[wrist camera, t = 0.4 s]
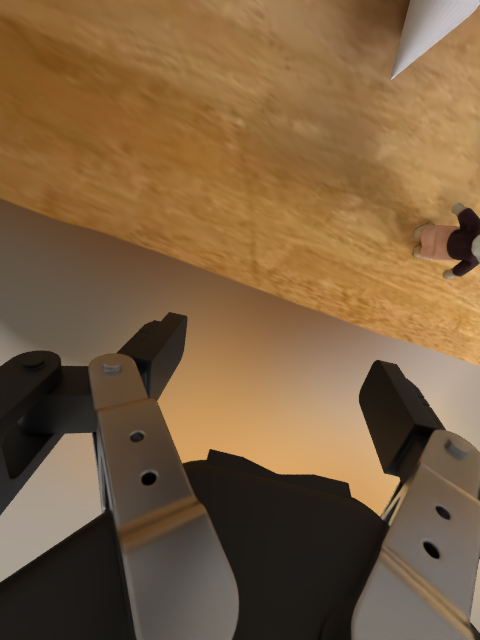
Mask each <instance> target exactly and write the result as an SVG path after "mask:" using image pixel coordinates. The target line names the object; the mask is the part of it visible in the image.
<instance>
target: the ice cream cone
mask: <svg viewBox="0 0 480 640" xmlns="http://www.w3.org/2000/svg"><path fill="white" fill-rule="evenodd" d="M479 4H480V0H410V3H409V7H408V11H407V15H406V19H405V23H404V27H403V31H402V35H401V39H400V42H399V46H398V50H397V54H396V58H395V62H394V66H393V70H392V74H391V78H390V80H392V79H393V78H394V77H395V76H396V75H398V74H399V73H400V72H401V71H403V70H404V69H405V68H406V67H408V66H409V65H410V64H411V63H412V62H414V61H415V60H416V59H417V58H419V57H420V56H421V55H422V54H423V53H425V52H426V51H427V50H428V49H430V48H431V47H432V46H433V45H435V44H436V43H437V42H438V41H439V40H441V39H442V38H443V37H444V36H446V35H447V34H448V33H449V32H450V31H452V30H453V29H454V28H455V27H457V26H458V25H459V24H460V23H462V22H463V21H464V20H465V19H466V18H468V17H469V16H470V15H471V14H472V13H473V12H474V11H475V10H476V8H477V7H478V6H479Z"/></svg>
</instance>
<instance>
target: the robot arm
mask: <svg viewBox="0 0 480 640" xmlns="http://www.w3.org/2000/svg"><path fill="white" fill-rule="evenodd" d="M186 328H187V316H185V315H180V314H176V313H171V312H169V313H168V314H167V315H166V316H165V317H164V319H163V320H162V321H161V322H160V321H156V320H154V321H152V322H149V323H147V324H145V325H144V326H143V327H142V328H141V329H140V330H139V331H138V332H137V333H136V334H135V335H134V336H133V337H132V338H131V339H130V340H129V341H128V342H127V343H126V344H125V345H124V346H123V347H122V348H121V349H120V350H119V351H118V352H117V353H116V354H115V353H114V354H106V355H102V356H99V357H97V358H95V359H94V360H92V361H91V363H90V364H89V366H61V359H60V357H59V356H58V355H57V354H55V353H53V352H50V351H32V352H26V353H22V354H20V355H17V356H15V357H13V358H12V359H10V360H9V361H7V362H6V363H4V364H3V365H2V366H0V515H1V514H2V512H3V511H4V510H5V509H6V507H7V506H8V505H9V504H10V502H11V501H12V500H13V499H14V497H15V496H16V495H17V493H18V492H19V491H20V489H21V488H22V487H23V486H24V484H25V483H26V482H27V481H28V479H29V478H30V477H31V476H32V474H33V473H34V471H36V469H37V468H38V467H39V465H40V464H41V463H42V462H43V460H44V459H45V458H46V456H47V455H48V454H49V453H50V451H51V450H52V449H53V448H54V446H55V445H56V444H57V443H58V441H59V440H60V439H61V437H62V436H63V435H64V434H65V433H92V437H93V444H94V451H95V458H96V465H97V472H98V480H99V490H100V500H101V508H102V514H101V515H100V516H98V517H97V518H95V519H94V520H92V521H91V522H89V523H88V524H86V525H85V526H83V527H82V528H80V529H79V530H77V531H76V532H74V533H73V534H71V535H70V536H68V537H67V538H65V539H64V540H63V541H61V542H60V543H58V544H57V545H55V546H54V547H52V548H51V549H49V550H48V551H46V552H45V553H43V554H42V555H40V556H39V557H37V558H36V559H35V560H33V561H31V562H30V563H28V564H27V565H25V566H24V567H22V568H21V569H19V570H18V571H16V572H15V573H14V574H12V575H11V576H9V577H8V578H6V579H5V580H3V581H2V582H0V640H480V633H479V632H478V631H477V629H476V628H475V627H474V626H473V625H472V623H470V615H471V608H472V602H473V595H474V589H475V581H476V575H477V569H478V563H479V559H480V452H479V451H478V450H477V449H476V448H475V447H474V446H473V445H472V444H471V443H470V442H468V441H467V440H465V439H463V438H462V437H461V436H459V435H457V434H455V433H452V432H449V431H446V429H445V428H444V426H443V425H442V423H441V422H440V420H439V419H438V417H437V416H436V414H435V413H434V411H433V410H432V408H431V407H429V406H430V405H429V404H428V402H427V401H426V400H425V399H424V396H423V395H422V393H421V392H420V390H419V389H418V388H417V387H416V386H415V385H414V384H413V383H412V382H411V381H409V380H408V379H406V378H405V376H404V374H403V373H402V371H401V370H400V368H399V367H398V365H397V364H393V363H388V362H384V361H380V360H376V361H375V362H374V363H373V364H372V366H371V369H370V371H369V373H368V375H367V377H366V379H365V381H364V383H363V386H362V387H361V390H360V394H359V403H360V407H361V409H362V412H363V415H364V418H365V421H366V424H367V426H368V429H369V432H370V435H371V437H372V440H373V443H374V446H375V449H376V452H377V455H378V457H379V460H380V463H381V466H382V469H383V471H384V473H385V474H390V475H394V476H398V477H399V478H400V482H399V483H398V485H397V486H396V488H395V490H394V492H393V494H392V496H391V497H390V500H389V501H388V503H387V505H386V507H385V509H384V511H383V513H382V514H381V516H378V515H377V514H376V513H375V512H374V511H373V510H371V509H370V508H368V507H367V506H366V505H365V504H363V503H361V502H360V501H358V500H357V499H355V498H352V497H351V493H350V489H349V484H348V483H346V482H342V481H338V480H334V479H329V478H326V477H321V476H317V475H281V474H276V473H274V472H272V471H270V470H268V469H266V468H264V467H262V466H260V465H258V464H256V463H254V462H252V461H250V460H248V459H246V458H244V457H240V456H236V455H232V454H228V453H224V452H220V451H216V450H212V449H210V450H209V454H208V457H207V460H198V461H190V462H186V463H182V462H181V460H180V457H179V455H178V452H177V450H176V447H175V445H174V443H173V440H172V437H171V435H170V432H169V430H168V427H167V425H166V422H165V420H164V417H163V415H162V412H161V410H160V407H159V405H158V402H157V400H158V399H159V397H160V395H161V394H162V392H163V390H164V388H165V387H166V385H167V383H168V381H169V379H170V378H171V376H172V375H173V373H174V371H175V369H176V367H177V366H178V364H179V362H180V361H181V358H182V355H183V352H184V345H185V337H186Z"/></svg>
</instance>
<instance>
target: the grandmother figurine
mask: <svg viewBox="0 0 480 640" xmlns="http://www.w3.org/2000/svg"><path fill="white" fill-rule="evenodd" d="M451 211H452V213H454V214H456V216H457V217H458V220H459V224H460V227H457V226H445V225H435V224H433V223H429V224H426V225H423V226H421V227H418V228H416V229H415V231H414V234H413V235H414V239H415V240H417V241H421V244H422V245H418V246H416V247H415V248H414V251H413V255H414V257H416V258H419V259H422V260H431V259H433V260H444V261H455V260H462V261H461V262H460V263H459V264H457V265H456V266H454V268H451V269H450V270H446V271H444V272H443V277H444V278H445V279H451V278H453V277H457V276H462V275H464V274H466V273H467V272H469V271H470V270H472V269H473V268H474V267H476V266H477V265H478V264H479V263H480V219H479V217H478V216H477V215H476V214H475V213H474V211H473V210H472V209H470V208H467V207H464V205H463V204H461V203H457V204H455V205H454V206H453V207H452V209H451Z"/></svg>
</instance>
